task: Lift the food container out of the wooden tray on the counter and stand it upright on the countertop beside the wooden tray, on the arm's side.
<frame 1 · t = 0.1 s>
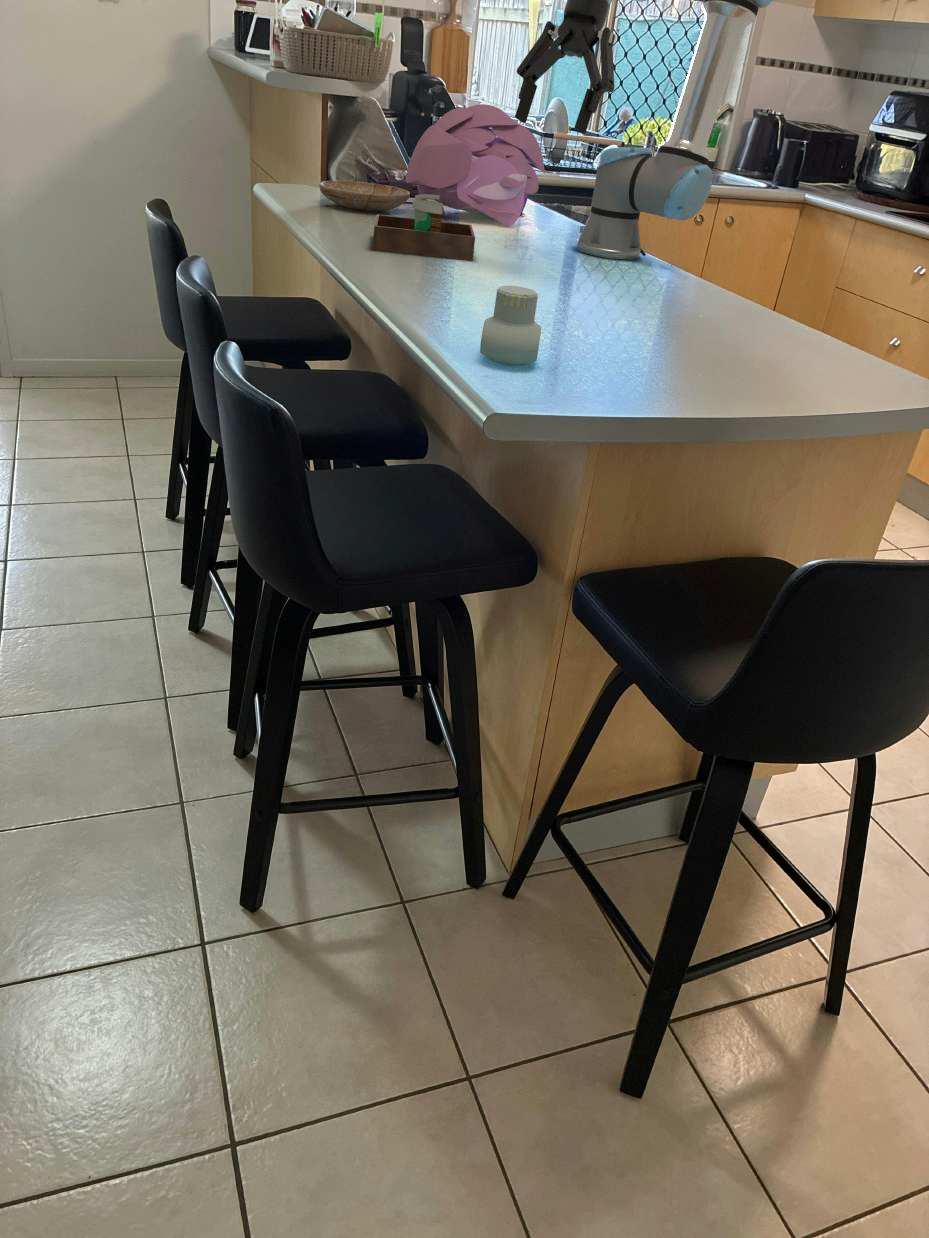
hand: (549, 125, 166), 28 cm above the table, tool tilted 20°, fingers open, 13 cm apart
wooden bowl: (363, 208, 238), on the table
wooden tray: (422, 248, 199), on the table
air freshener: (508, 361, 135), on the table
food container: (422, 248, 199), resting on wooden tray
flower arrangement: (473, 218, 244), on the table
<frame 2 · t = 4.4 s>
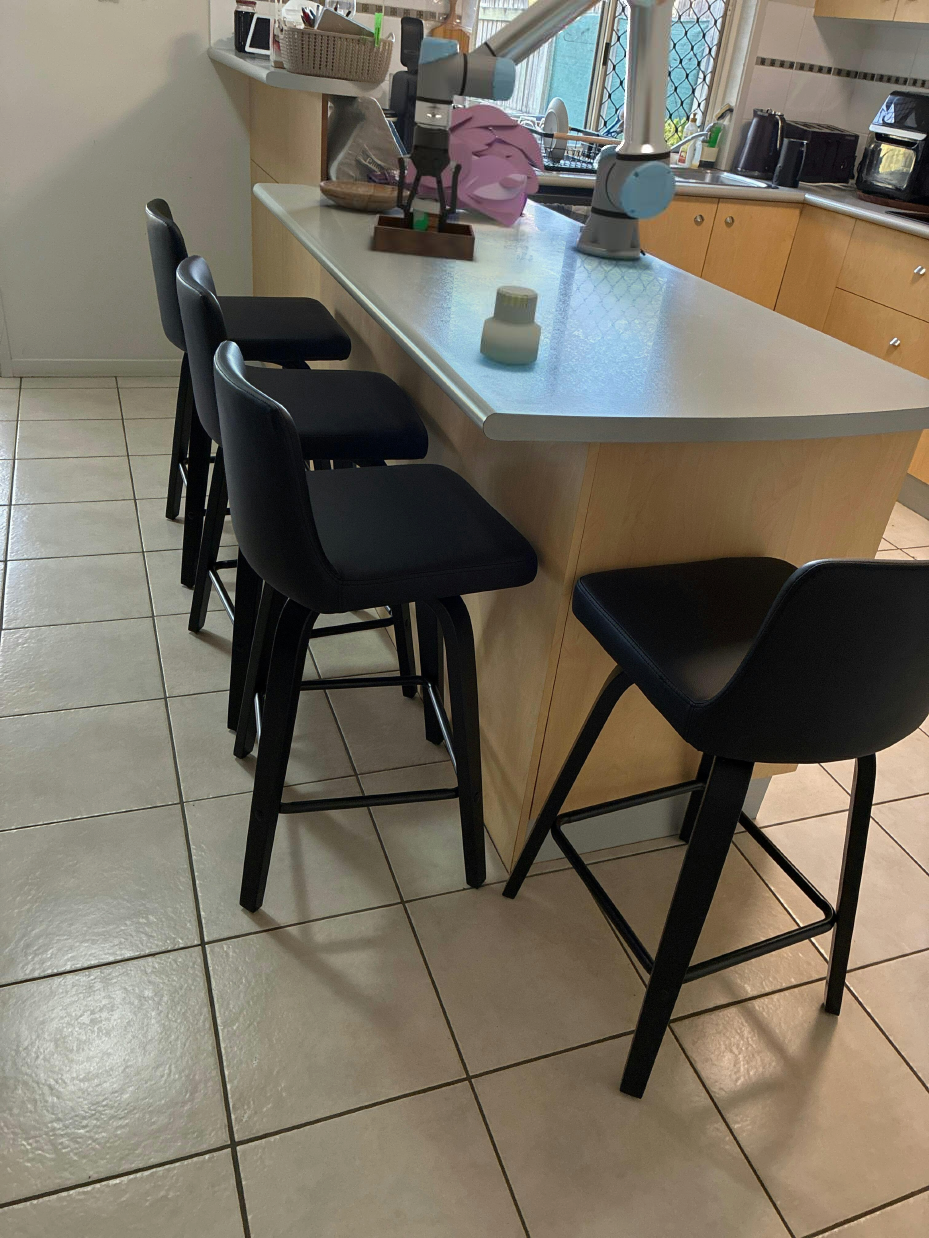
hand: (422, 246, 199), 1 cm above the table, tool pointing down, fingers closed on food container, 5 cm apart
food container: (420, 248, 199), resting on wooden tray, touching gripper
everything else where it was.
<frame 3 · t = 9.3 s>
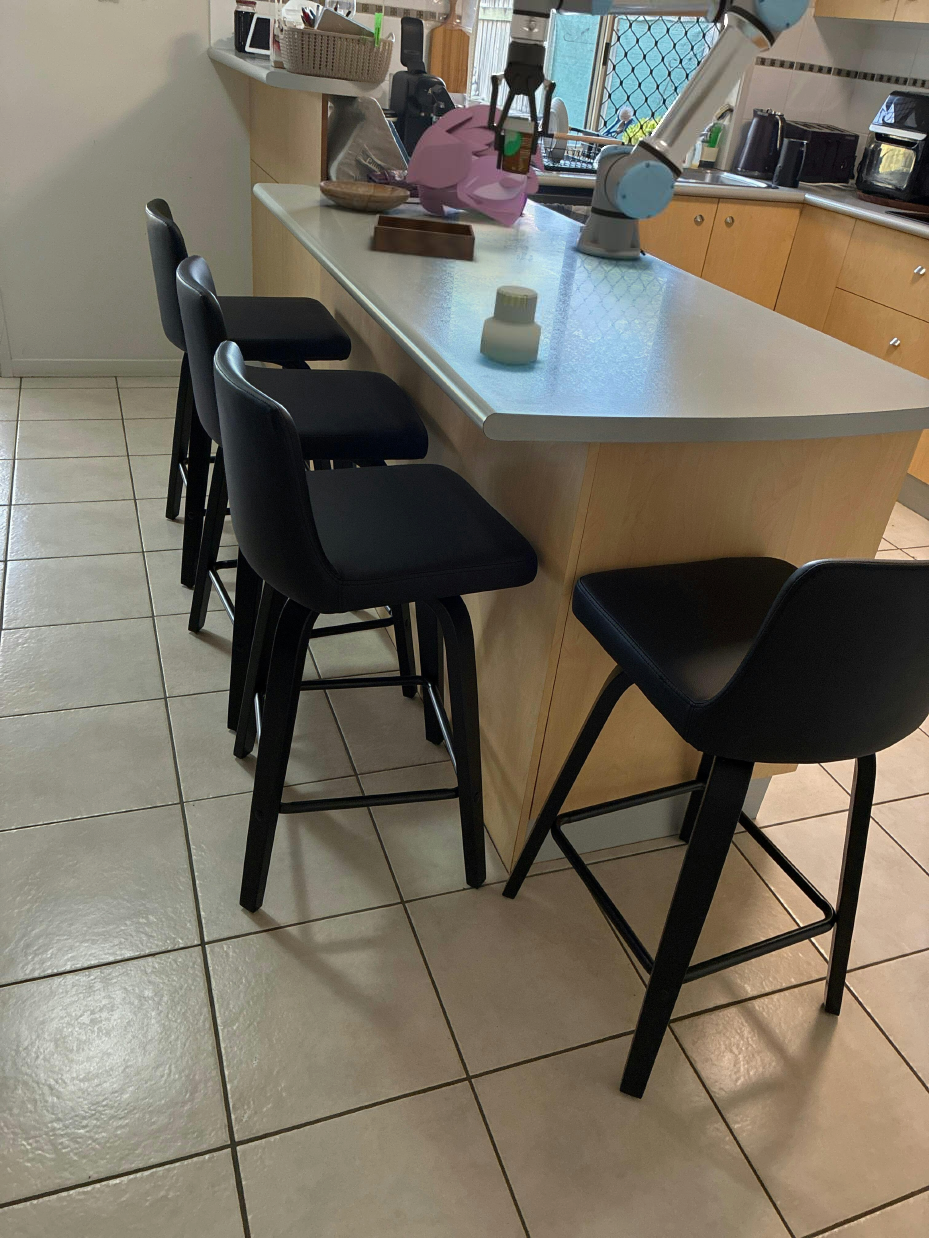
hand: (512, 170, 195), 17 cm above the table, tool pointing down, fingers closed on food container, 5 cm apart
food container: (510, 172, 195), point 17 cm above the table, touching gripper
everything else where it was.
when the fingers open (0 cm above the table, at t = 14.2 s): food container stays where it is, on the table.
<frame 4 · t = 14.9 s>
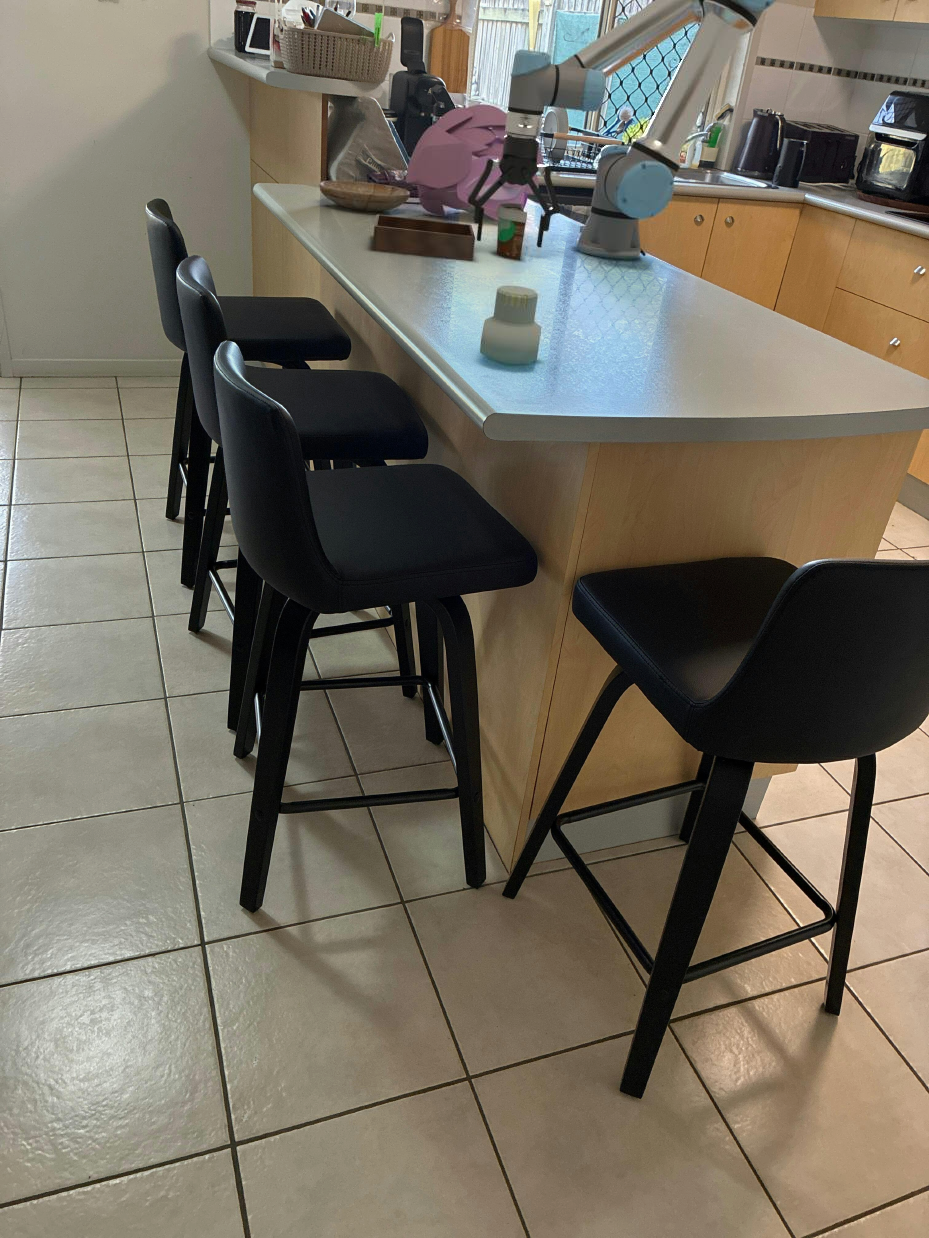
hand: (508, 243, 203), 2 cm above the table, tool pointing down, fingers open, 13 cm apart
food container: (504, 255, 204), on the table
everything else where it was.
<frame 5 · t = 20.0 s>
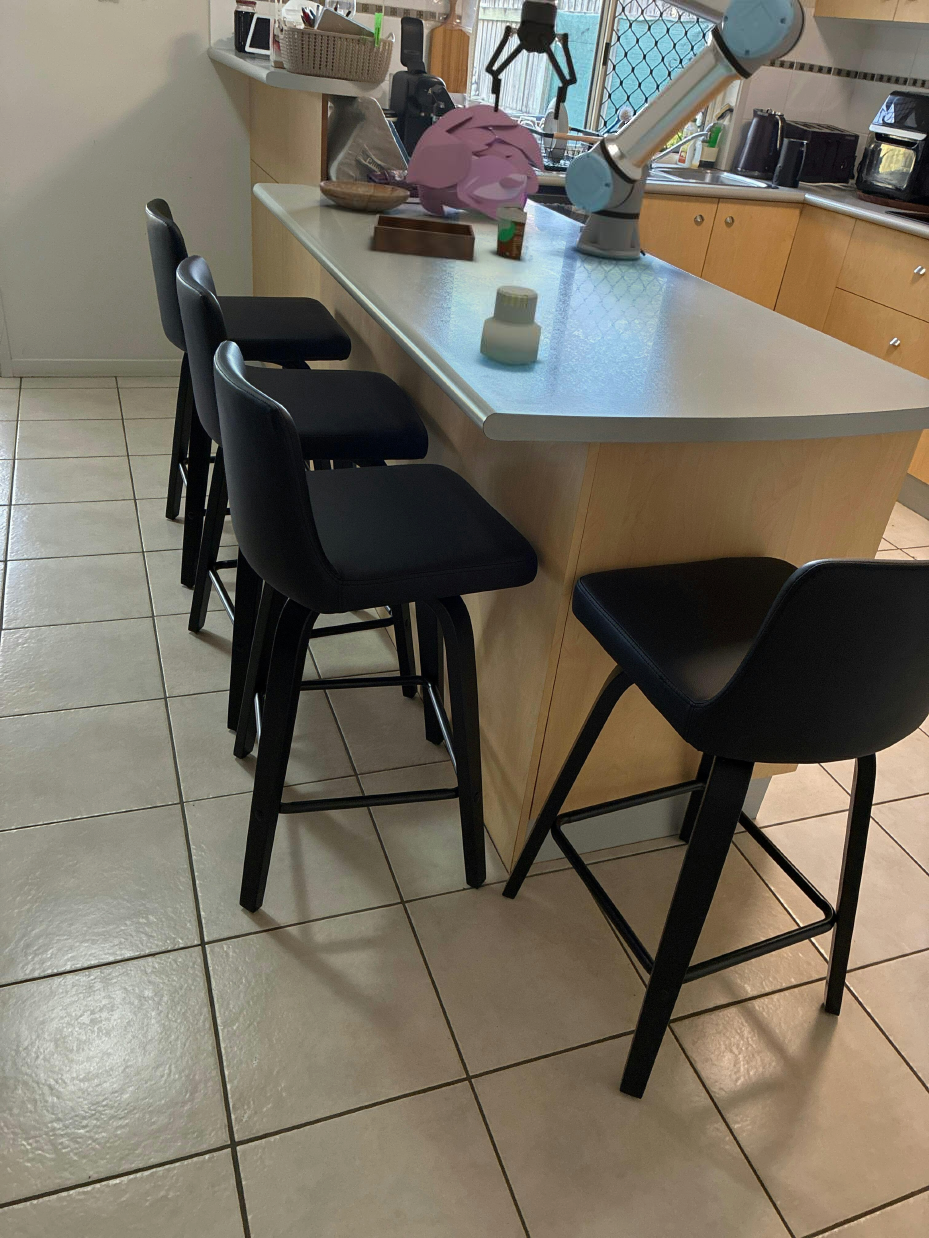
hand: (525, 116, 204), 27 cm above the table, tool pointing down, fingers open, 13 cm apart
nothing on the table moved.
at the end: food container inside the target area (0.5 cm from its centre), on the table; food container tilted 0°; the gripper is holding nothing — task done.
